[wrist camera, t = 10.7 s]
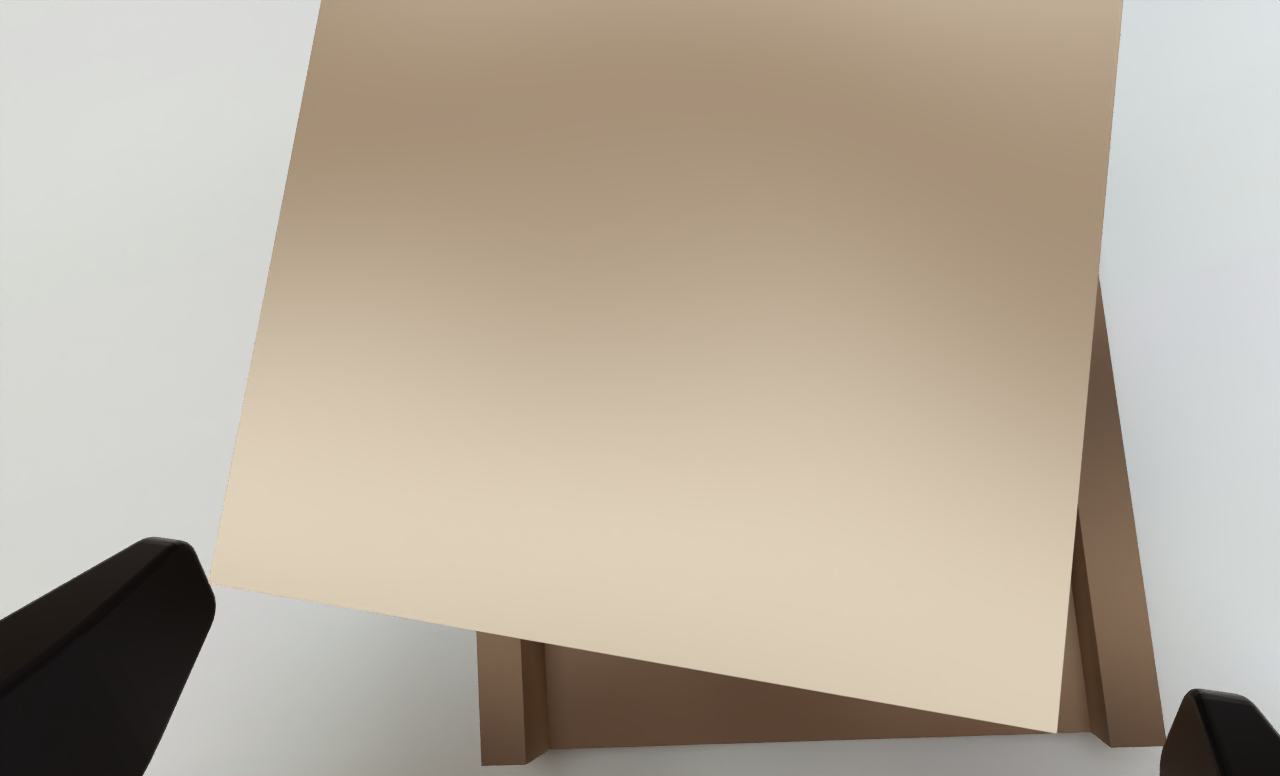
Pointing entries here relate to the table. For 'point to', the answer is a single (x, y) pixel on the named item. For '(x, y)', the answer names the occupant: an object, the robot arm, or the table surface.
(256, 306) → the table surface
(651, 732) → the brown tray
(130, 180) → the table surface
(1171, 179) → the table surface
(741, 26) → the frame block
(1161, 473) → the table surface
